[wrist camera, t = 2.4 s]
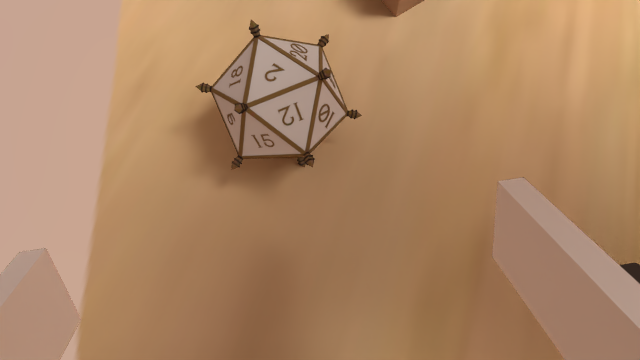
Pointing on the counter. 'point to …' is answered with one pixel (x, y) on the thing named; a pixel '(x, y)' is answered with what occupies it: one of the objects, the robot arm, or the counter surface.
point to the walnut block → (400, 5)
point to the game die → (278, 99)
